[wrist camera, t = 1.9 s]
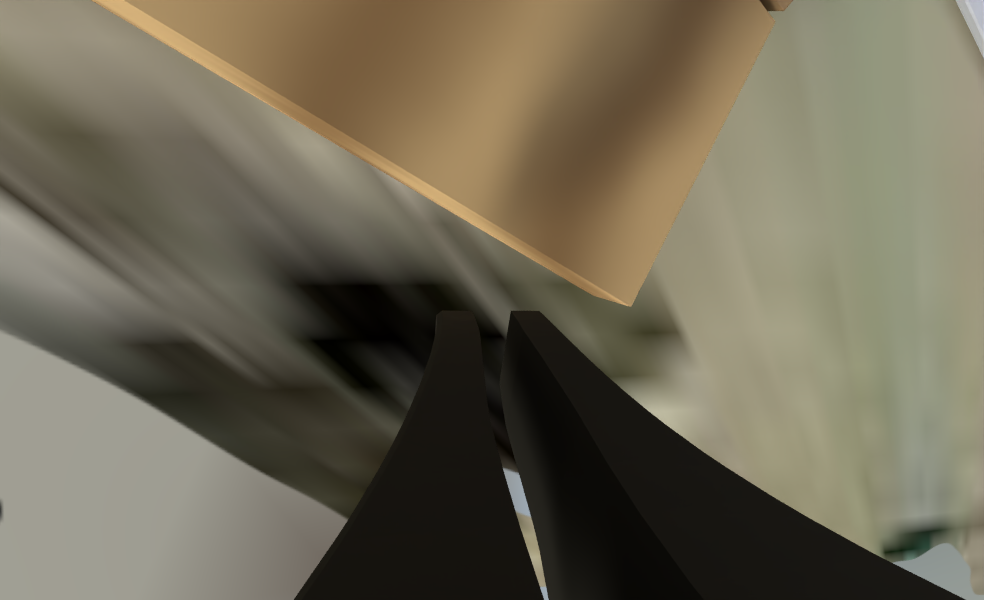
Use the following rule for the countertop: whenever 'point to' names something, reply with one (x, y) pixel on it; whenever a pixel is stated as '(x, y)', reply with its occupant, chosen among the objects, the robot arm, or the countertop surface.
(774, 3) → the walnut plank
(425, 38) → the oak plank
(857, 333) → the countertop surface
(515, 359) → the robot arm
